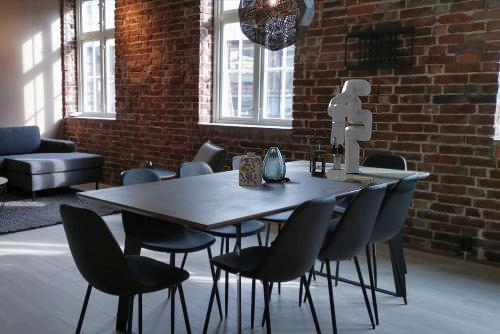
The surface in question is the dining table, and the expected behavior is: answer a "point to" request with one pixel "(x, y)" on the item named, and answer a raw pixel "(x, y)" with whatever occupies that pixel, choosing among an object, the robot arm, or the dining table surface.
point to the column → (337, 162)
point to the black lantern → (313, 164)
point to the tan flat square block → (360, 180)
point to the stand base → (336, 175)
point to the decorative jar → (250, 170)
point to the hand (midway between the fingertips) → (337, 154)
